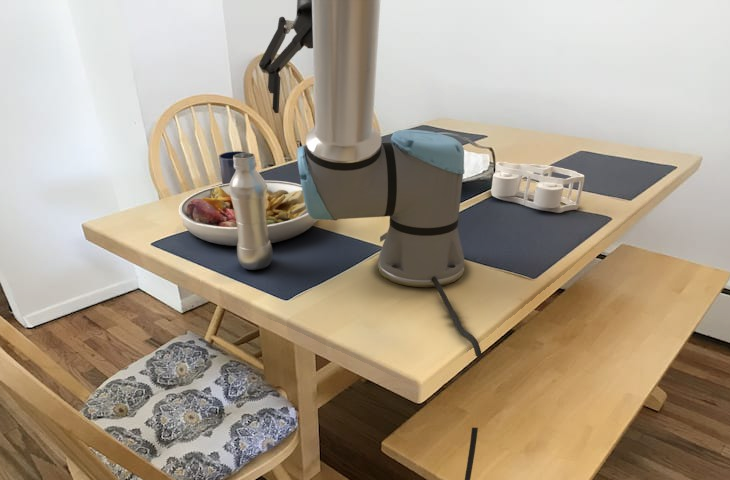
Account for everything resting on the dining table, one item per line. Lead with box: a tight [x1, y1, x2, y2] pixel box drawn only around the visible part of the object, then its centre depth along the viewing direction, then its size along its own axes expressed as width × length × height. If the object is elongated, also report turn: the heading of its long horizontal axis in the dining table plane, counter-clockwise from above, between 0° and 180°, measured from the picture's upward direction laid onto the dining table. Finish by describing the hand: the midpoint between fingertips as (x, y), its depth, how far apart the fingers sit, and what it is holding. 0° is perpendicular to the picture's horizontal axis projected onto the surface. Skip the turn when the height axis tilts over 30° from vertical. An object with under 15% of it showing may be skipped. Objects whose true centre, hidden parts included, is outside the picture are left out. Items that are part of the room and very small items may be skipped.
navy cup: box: [217, 150, 248, 185], centre depth 135 cm, size 8×8×9 cm
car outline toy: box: [490, 161, 585, 214], centre depth 125 cm, size 20×11×7 cm, turn 42°
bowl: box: [178, 179, 318, 247], centre depth 117 cm, size 30×30×8 cm
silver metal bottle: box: [229, 152, 274, 271], centre depth 96 cm, size 6×7×20 cm
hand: (311, 113), depth 103 cm, fingers open, 13 cm apart
